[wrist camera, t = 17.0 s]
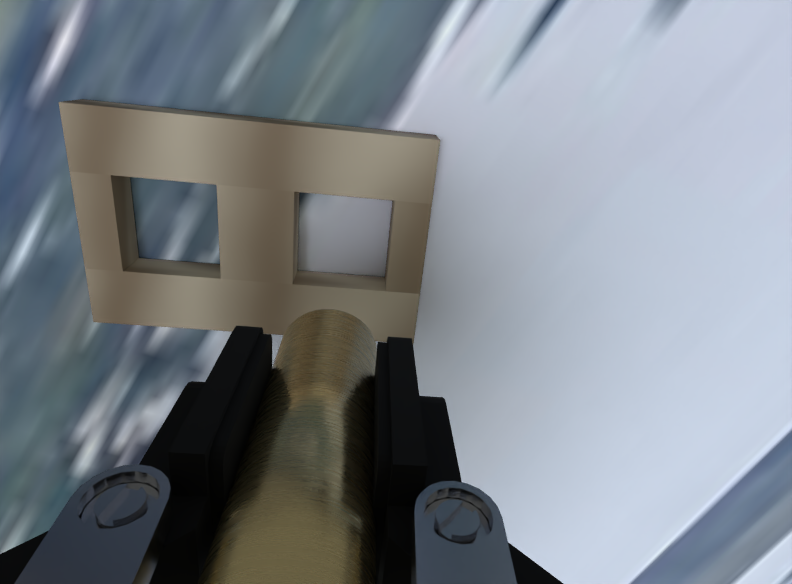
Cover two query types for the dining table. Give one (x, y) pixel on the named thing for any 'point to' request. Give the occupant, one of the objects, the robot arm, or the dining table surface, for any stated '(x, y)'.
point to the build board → (244, 215)
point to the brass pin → (306, 465)
